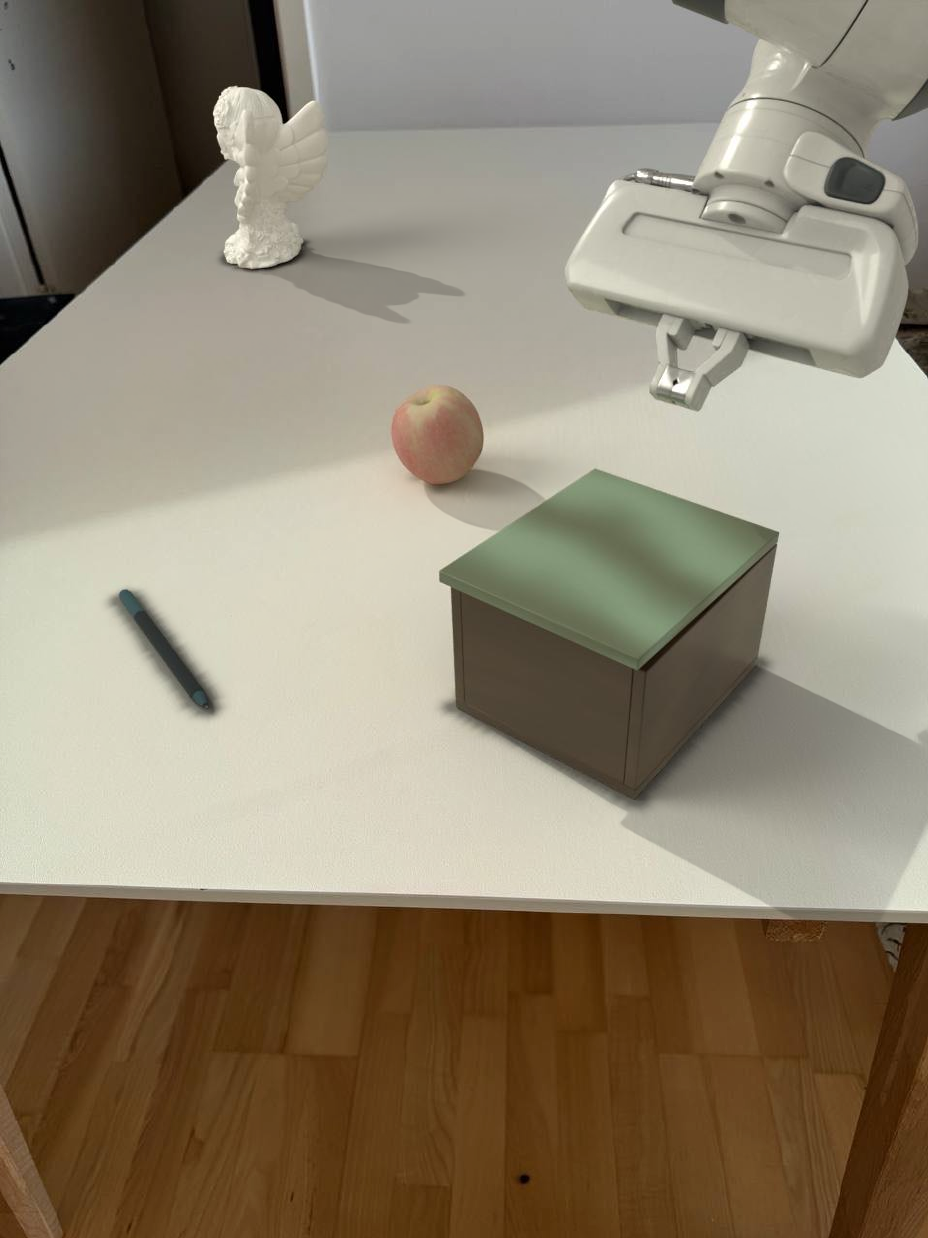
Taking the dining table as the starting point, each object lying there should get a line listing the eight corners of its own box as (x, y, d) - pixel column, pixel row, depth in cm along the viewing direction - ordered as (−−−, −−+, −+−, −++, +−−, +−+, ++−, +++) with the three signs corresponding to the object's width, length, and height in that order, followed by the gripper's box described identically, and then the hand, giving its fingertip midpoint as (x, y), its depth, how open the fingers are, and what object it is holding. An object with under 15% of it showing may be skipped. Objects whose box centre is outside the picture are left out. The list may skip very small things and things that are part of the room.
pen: (201, 700, 71) (217, 700, 72) (118, 586, 82) (133, 588, 82) (196, 714, 71) (212, 714, 72) (114, 599, 82) (129, 600, 83)
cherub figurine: (284, 230, 150) (264, 70, 138) (343, 250, 143) (328, 83, 131) (205, 255, 143) (176, 89, 131) (263, 277, 136) (239, 103, 124)
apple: (426, 447, 100) (422, 365, 95) (500, 466, 97) (499, 382, 92) (377, 486, 94) (370, 401, 89) (454, 508, 91) (450, 421, 86)
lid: (637, 671, 57) (638, 658, 57) (438, 581, 64) (438, 570, 64) (777, 542, 68) (780, 531, 68) (594, 478, 75) (594, 467, 75)
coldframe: (634, 800, 64) (646, 672, 59) (455, 707, 71) (449, 584, 66) (756, 664, 74) (778, 543, 68) (588, 594, 81) (594, 478, 75)
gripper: (603, 134, 67) (509, 338, 67) (936, 187, 57) (825, 428, 57) (637, 191, 73) (549, 380, 73) (946, 248, 62) (845, 469, 62)
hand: (673, 402), depth 65 cm, fingers closed
